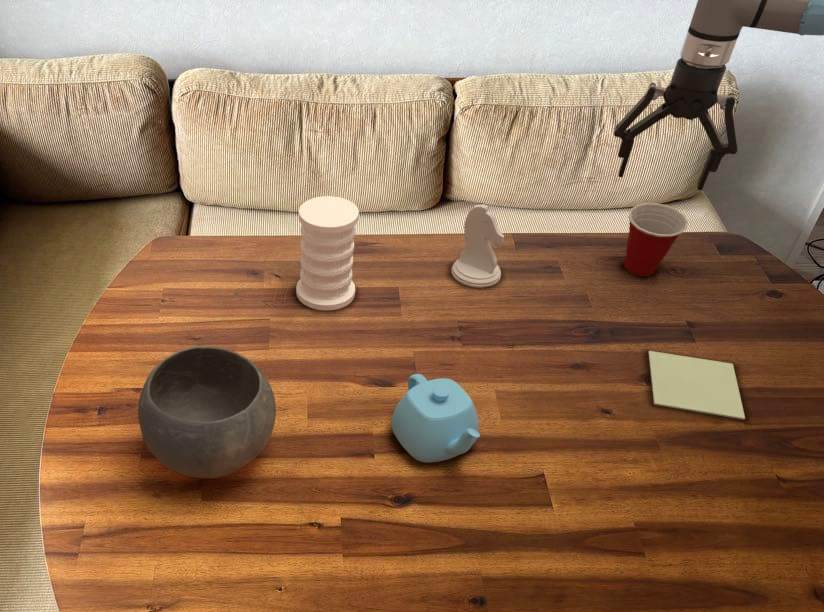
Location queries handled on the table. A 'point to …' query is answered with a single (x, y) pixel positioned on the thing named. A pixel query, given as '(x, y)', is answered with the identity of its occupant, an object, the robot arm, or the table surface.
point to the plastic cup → (651, 236)
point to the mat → (695, 385)
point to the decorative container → (327, 252)
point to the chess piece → (479, 250)
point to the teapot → (435, 419)
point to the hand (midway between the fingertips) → (659, 180)
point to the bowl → (206, 411)
